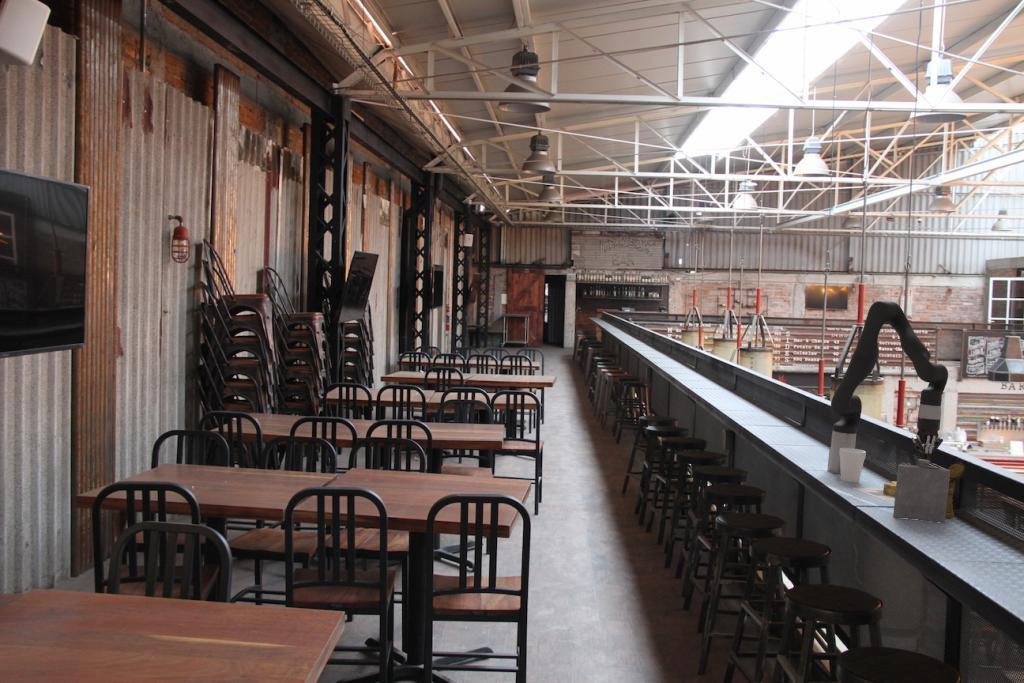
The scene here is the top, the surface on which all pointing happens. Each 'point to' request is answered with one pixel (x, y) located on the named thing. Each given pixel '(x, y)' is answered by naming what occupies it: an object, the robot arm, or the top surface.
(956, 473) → the wooden mug
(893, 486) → the t block
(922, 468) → the hip flask
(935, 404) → the robot arm
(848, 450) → the foam cup
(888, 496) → the t board
